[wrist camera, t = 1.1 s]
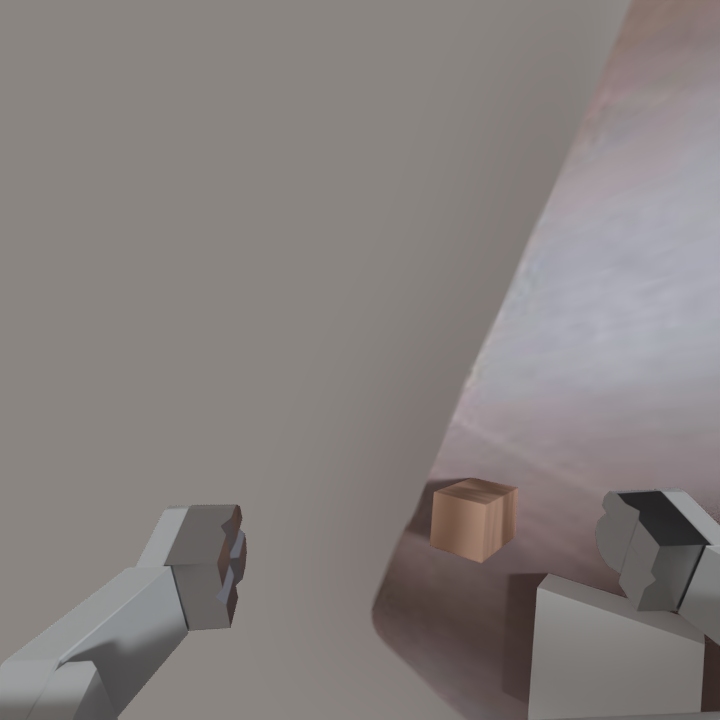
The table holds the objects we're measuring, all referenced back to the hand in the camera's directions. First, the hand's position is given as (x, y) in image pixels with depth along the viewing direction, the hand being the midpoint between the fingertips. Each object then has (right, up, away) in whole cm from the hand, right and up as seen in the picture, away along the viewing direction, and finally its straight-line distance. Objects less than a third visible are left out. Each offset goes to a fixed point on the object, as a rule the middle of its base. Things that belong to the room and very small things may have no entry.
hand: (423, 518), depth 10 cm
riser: (+21, -23, +30) cm, 44 cm away
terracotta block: (+13, -12, +37) cm, 41 cm away
